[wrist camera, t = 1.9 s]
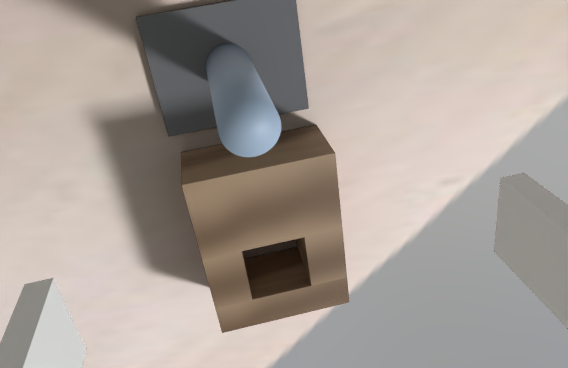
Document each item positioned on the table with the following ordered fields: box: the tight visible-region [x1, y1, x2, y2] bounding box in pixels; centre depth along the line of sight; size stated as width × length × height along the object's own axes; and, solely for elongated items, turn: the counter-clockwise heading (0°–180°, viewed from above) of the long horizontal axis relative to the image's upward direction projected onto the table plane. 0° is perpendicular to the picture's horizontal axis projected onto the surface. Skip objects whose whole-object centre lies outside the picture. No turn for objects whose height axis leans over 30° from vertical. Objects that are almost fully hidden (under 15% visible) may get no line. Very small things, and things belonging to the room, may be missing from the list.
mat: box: [136, 0, 309, 136], centre depth 33 cm, size 8×10×1 cm
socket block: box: [181, 125, 349, 333], centre depth 37 cm, size 13×10×5 cm
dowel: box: [206, 44, 281, 157], centre depth 28 cm, size 3×3×11 cm
